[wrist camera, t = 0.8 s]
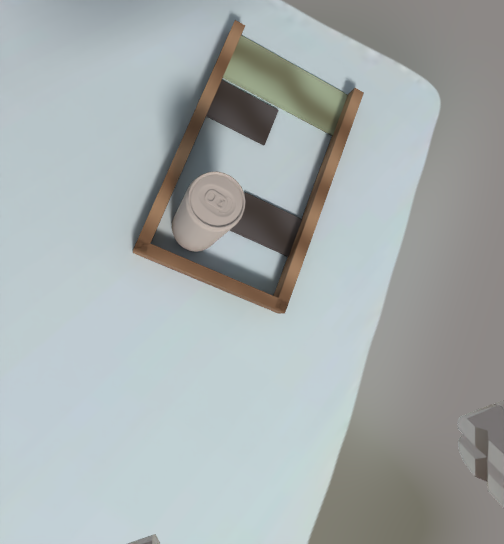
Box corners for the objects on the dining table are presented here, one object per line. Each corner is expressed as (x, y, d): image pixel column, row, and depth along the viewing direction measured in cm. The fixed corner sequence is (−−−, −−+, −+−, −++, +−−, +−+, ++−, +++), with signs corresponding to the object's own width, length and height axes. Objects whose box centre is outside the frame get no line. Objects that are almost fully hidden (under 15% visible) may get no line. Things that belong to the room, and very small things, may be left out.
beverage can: (203, 261, 46) (229, 241, 34) (162, 237, 45) (174, 209, 33) (225, 222, 47) (257, 190, 35) (185, 198, 46) (205, 157, 34)
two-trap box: (278, 313, 47) (284, 313, 46) (132, 252, 44) (133, 249, 42) (355, 100, 53) (363, 92, 51) (230, 31, 49) (235, 19, 47)
